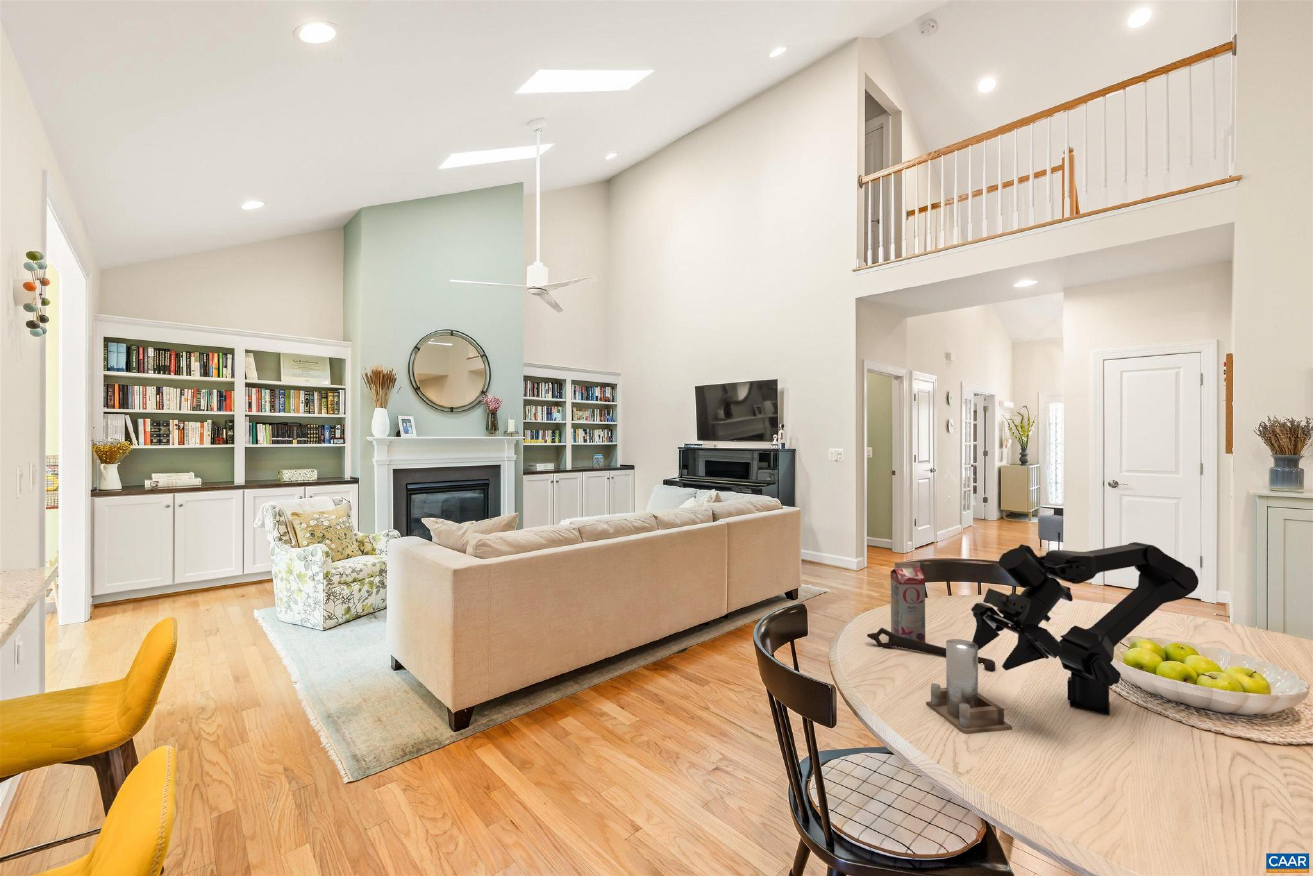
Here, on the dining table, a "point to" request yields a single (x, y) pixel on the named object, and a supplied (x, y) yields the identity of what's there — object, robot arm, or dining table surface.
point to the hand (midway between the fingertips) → (987, 659)
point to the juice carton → (908, 601)
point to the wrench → (919, 646)
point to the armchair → (969, 713)
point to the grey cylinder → (961, 675)
